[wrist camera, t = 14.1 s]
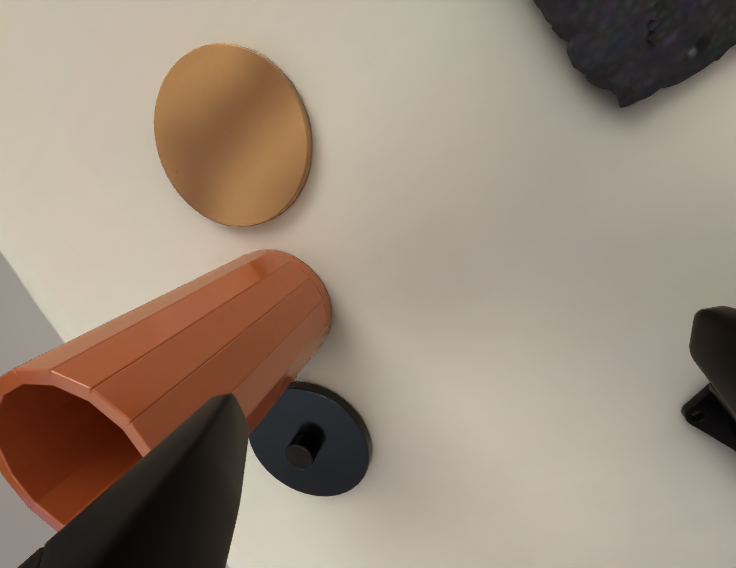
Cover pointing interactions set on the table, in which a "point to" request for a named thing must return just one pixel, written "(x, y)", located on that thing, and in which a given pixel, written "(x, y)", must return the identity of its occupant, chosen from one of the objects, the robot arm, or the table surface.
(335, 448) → the lid
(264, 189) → the coaster
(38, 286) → the table surface
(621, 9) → the dark slate chunk
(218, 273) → the pot
